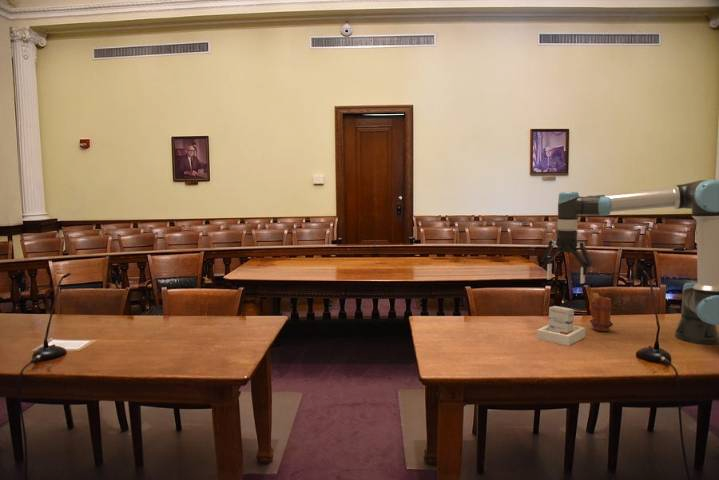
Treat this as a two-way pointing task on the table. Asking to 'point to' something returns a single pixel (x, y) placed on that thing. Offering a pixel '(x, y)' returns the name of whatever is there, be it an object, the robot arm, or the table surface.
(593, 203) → the robot arm
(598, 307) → the mug
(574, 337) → the tray
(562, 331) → the ink box
